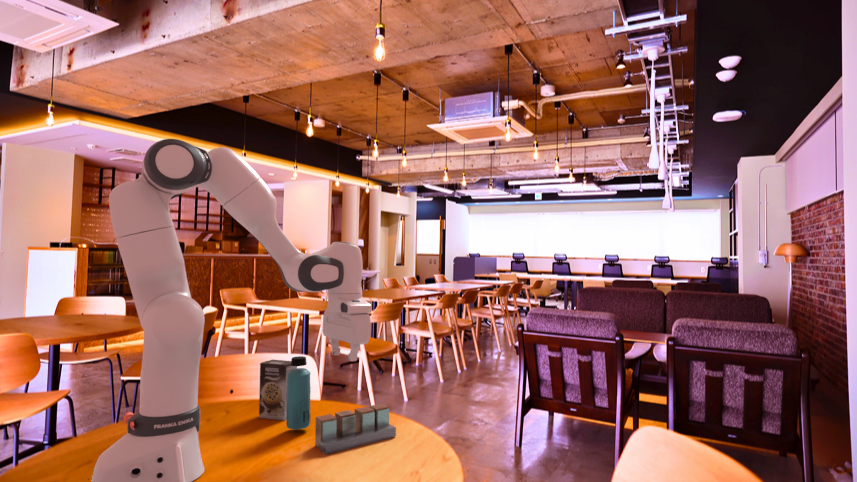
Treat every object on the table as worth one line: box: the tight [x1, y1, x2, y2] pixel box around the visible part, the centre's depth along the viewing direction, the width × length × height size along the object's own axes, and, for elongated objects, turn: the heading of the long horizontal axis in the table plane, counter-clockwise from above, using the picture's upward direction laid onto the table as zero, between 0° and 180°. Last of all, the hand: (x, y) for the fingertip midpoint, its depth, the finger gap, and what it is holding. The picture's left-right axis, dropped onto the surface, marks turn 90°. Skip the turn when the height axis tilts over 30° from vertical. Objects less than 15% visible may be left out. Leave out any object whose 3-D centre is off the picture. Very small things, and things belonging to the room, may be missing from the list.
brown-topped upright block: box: [334, 409, 356, 437], centre depth 122 cm, size 4×4×7 cm
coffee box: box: [258, 359, 298, 421], centre depth 142 cm, size 9×6×16 cm
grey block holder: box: [314, 403, 397, 456], centre depth 122 cm, size 20×7×7 cm, turn 127°
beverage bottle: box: [285, 355, 312, 430], centre depth 130 cm, size 6×7×20 cm
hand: (344, 357), depth 123 cm, fingers open, 8 cm apart
